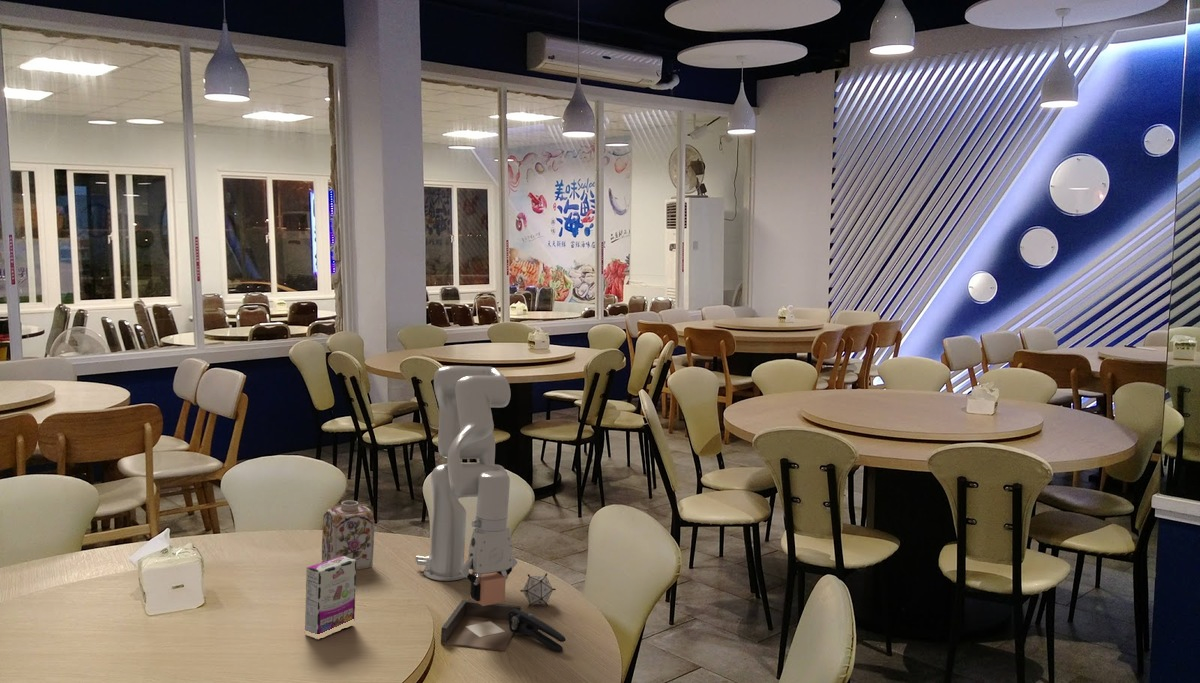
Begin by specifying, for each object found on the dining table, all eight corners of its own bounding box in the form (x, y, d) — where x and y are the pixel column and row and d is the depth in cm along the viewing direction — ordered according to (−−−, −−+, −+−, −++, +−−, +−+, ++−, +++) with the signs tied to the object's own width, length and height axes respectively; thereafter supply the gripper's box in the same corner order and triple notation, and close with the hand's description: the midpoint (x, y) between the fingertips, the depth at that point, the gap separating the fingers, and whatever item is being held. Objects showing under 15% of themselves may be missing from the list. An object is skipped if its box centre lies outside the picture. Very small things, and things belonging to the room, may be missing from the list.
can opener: (499, 630, 215) (501, 608, 215) (520, 623, 220) (523, 601, 220) (551, 657, 203) (554, 633, 203) (572, 649, 209) (575, 626, 208)
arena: (440, 643, 206) (441, 627, 206) (461, 614, 224) (462, 599, 224) (504, 651, 205) (505, 635, 204) (520, 621, 223) (521, 606, 222)
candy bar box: (340, 620, 215) (343, 554, 214) (354, 626, 213) (358, 559, 211) (302, 635, 206) (305, 566, 205) (317, 641, 203) (320, 571, 202)
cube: (470, 597, 215) (471, 573, 215) (491, 593, 219) (492, 569, 218) (482, 606, 210) (484, 581, 210) (504, 601, 214) (505, 577, 214)
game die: (540, 621, 233) (548, 600, 227) (512, 605, 234) (519, 584, 228) (555, 595, 240) (563, 574, 233) (527, 580, 241) (535, 559, 235)
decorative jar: (360, 555, 263) (363, 495, 261) (373, 568, 253) (376, 506, 251) (319, 560, 256) (322, 499, 255) (331, 573, 246) (334, 509, 245)
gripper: (467, 532, 205) (463, 608, 206) (530, 523, 216) (525, 595, 217) (452, 523, 211) (447, 598, 212) (513, 515, 221) (509, 586, 223)
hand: (487, 596), depth 214 cm, fingers closed on cube, 5 cm apart
